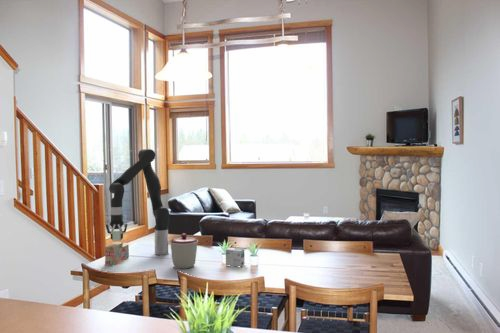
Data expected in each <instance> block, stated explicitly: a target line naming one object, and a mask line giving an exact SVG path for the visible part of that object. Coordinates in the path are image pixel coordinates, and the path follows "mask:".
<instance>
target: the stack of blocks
mask: <svg viewBox="0 0 500 333" xmlns="http://www.w3.org/2000/svg"><path fill="white" fill-rule="evenodd" d="M104 256H105V257H104V260H105V261H104V262H105V263H104V265H105V266H112V265H114V266H116V265H117V264H120V263H121V262H123V261H125V260H127V259H128V258H129V257H130V250H129V244H128V243H124V242H118V241H113V242H112V243H110V244H107V245H105V247H104Z"/></svg>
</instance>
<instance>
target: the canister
mask: <svg viewBox="0 0 500 333" xmlns="http://www.w3.org/2000/svg"><path fill="white" fill-rule="evenodd" d="M198 242H199V240H198V238H196V237H193V236H188V235H187V233H184V232H183V233H181V235H180V236H177V237H174V238H171V240H168V243H169V244H170V251H171V259H172V265H173V266H174V268H176V269H182V270H183V269H191V268H193V267H194V266H195V264H196V261H197V260H196V258H197V250H198Z"/></svg>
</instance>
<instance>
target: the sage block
mask: <svg viewBox="0 0 500 333" xmlns="http://www.w3.org/2000/svg"><path fill="white" fill-rule="evenodd" d="M112 234H113V240H112V242H121V241H122V240H121V231H120V230H119V229H114V231H113V232H112Z"/></svg>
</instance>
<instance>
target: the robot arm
mask: <svg viewBox="0 0 500 333" xmlns="http://www.w3.org/2000/svg"><path fill="white" fill-rule="evenodd" d="M137 155H138V156H137V157H138V161H137V162H135V163H134V164H133V165H131V166H130V167H129V168H127V169H126V170H125V171H124V172H123V173H122V174H121V175H120V176H119V177H117V178H116V179H115V180H114V181H112V183H111V184H110V185H109V187H108V190H109V192H110V194H114V195H113V197H112V198H111V200H110V222H109V223H105V228H106V231H107V234H109V235H110V239H111V241H113V234H112V232H113V231H114V230H120V231H121V241H122V239H124V234H126V232H127V229H128V228H127V227H128V225H129V224H128V223H125V222H124V220H123V219H124V217H123V216H124V215H123V213H124V210H123V209H124V208H123V200H124V194H125V187H124V186H126V185H128V184H130V183H131V182H132V180H134V178H135V177H136V176H137V175H138V174H139V173H141V171H142V172H143V176H144V180H145V184H146V188H147V191H148V195H149V198H150V203H151V209H152V215H153V217H154V218H155V219H156V224H155V225H154V254H155V255H159V256H164V255H169V225H170V210H169V208H167V207H165V206H164V205H163V202H162V197H161V196H162V186H161V182H160V179H159V177H158V174H156V171H155V170H154V169H153V165H152V162H154V160H155V158H156V153H155V151H154V150H153V149H151V148H146V149H145V148H144V149H140V150H139V152H138V154H137ZM123 226H124V230H123V228H122V227H123ZM110 227H111V228H112V229H111V230H110Z"/></svg>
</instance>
